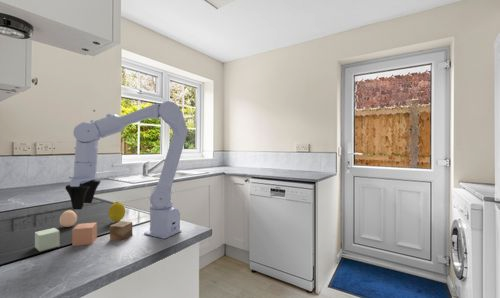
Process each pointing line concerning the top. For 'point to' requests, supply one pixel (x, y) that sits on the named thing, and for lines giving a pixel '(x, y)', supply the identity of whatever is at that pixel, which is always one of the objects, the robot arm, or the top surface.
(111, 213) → the lemon
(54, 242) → the sage block
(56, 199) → the top surface
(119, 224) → the walnut block
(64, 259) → the top surface
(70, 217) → the egg
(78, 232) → the terracotta block
